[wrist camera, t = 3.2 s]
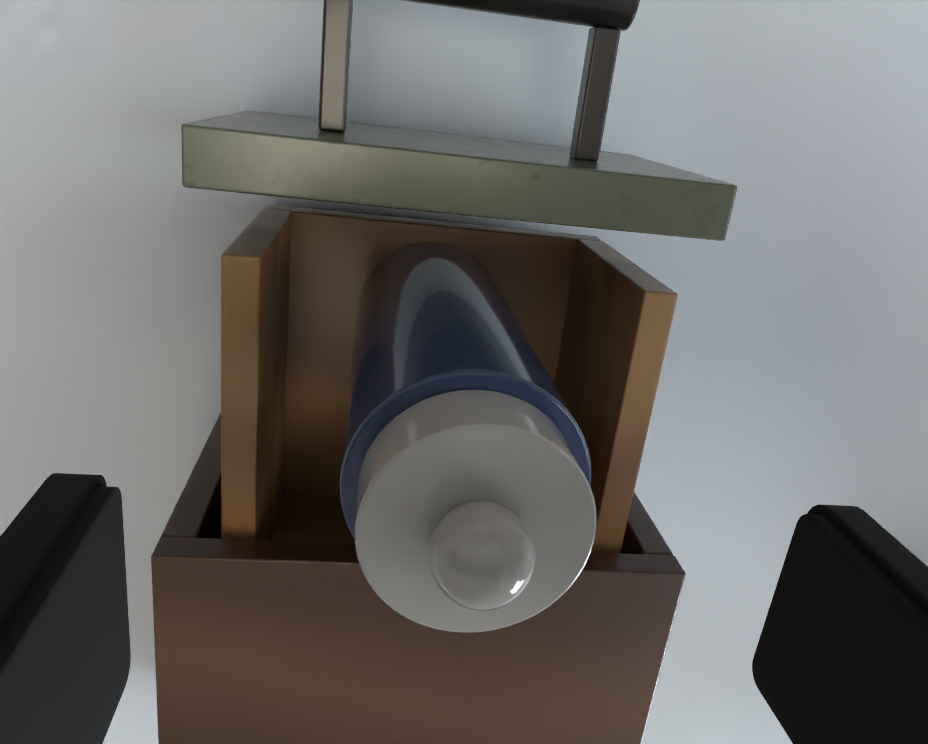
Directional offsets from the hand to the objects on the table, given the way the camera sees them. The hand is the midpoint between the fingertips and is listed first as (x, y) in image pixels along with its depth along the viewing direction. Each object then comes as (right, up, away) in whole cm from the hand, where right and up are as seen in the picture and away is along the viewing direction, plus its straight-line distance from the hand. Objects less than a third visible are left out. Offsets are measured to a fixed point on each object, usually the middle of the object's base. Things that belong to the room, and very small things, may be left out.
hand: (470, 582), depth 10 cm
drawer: (-1, +6, +13) cm, 14 cm away
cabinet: (-3, -5, +18) cm, 19 cm away
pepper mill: (-1, +5, +12) cm, 13 cm away
